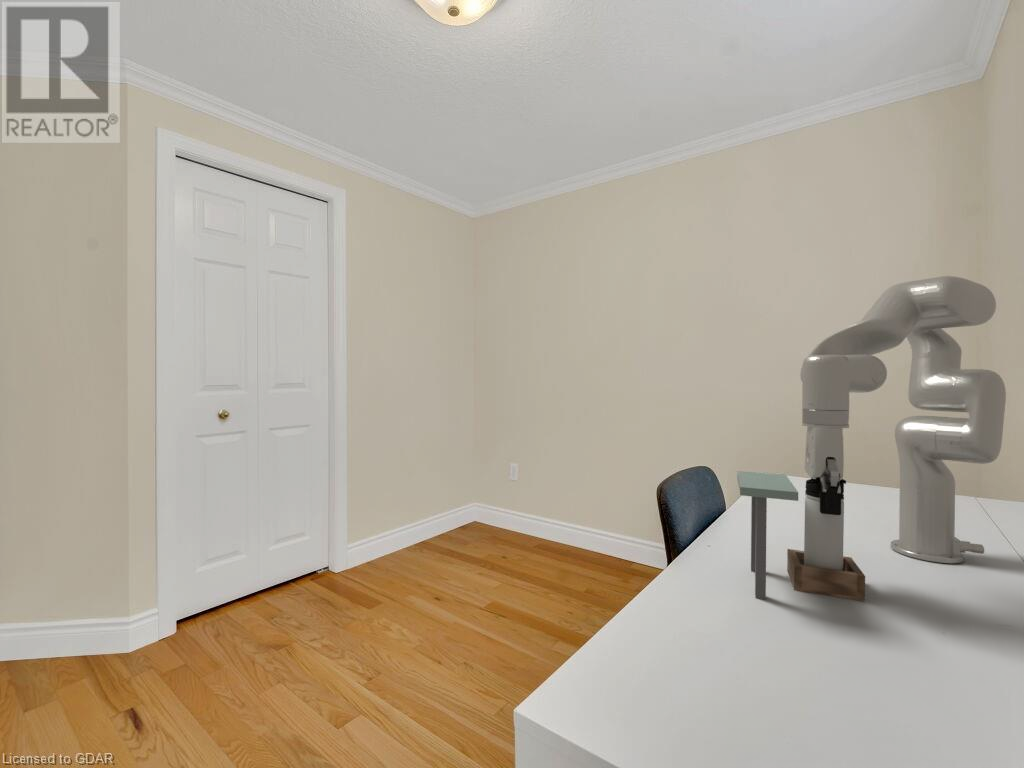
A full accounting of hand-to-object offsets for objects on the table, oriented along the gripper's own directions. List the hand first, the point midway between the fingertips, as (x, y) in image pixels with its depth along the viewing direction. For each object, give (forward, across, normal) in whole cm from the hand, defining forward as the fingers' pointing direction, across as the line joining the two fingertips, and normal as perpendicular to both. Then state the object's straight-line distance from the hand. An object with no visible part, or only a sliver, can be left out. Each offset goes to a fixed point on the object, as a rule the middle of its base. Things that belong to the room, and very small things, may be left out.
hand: (824, 507), depth 90 cm
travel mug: (+15, 0, 0) cm, 15 cm away
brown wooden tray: (+15, 0, 0) cm, 15 cm away
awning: (+15, +5, -12) cm, 20 cm away
